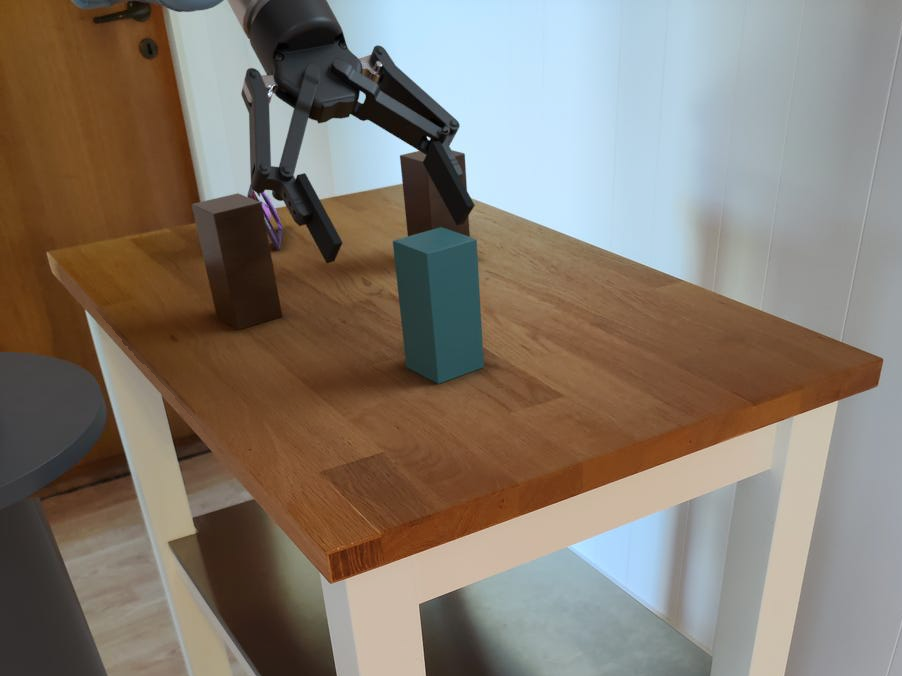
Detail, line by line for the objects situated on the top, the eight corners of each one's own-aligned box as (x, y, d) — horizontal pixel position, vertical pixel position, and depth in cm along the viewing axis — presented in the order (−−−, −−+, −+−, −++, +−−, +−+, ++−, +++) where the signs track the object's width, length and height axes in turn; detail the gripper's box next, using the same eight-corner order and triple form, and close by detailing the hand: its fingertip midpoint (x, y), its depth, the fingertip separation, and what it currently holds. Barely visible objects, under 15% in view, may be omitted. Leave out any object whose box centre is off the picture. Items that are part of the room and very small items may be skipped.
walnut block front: (238, 330, 98) (213, 214, 91) (216, 317, 101) (190, 203, 95) (282, 316, 100) (261, 202, 94) (260, 304, 104) (238, 192, 97)
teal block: (438, 384, 85) (426, 253, 79) (406, 367, 89) (392, 240, 82) (484, 367, 88) (476, 239, 81) (451, 351, 91) (441, 226, 84)
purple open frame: (255, 191, 114) (260, 172, 121) (215, 211, 114) (223, 191, 121) (285, 246, 118) (288, 225, 125) (246, 265, 118) (251, 243, 125)
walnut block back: (435, 270, 109) (426, 162, 102) (409, 260, 112) (399, 155, 105) (471, 259, 111) (465, 153, 104) (445, 250, 114) (437, 146, 108)
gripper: (392, 30, 94) (498, 225, 94) (145, 74, 83) (265, 295, 83) (419, -35, 88) (533, 175, 87) (154, 2, 76) (283, 243, 76)
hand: (402, 234), depth 85 cm, fingers open, 13 cm apart
